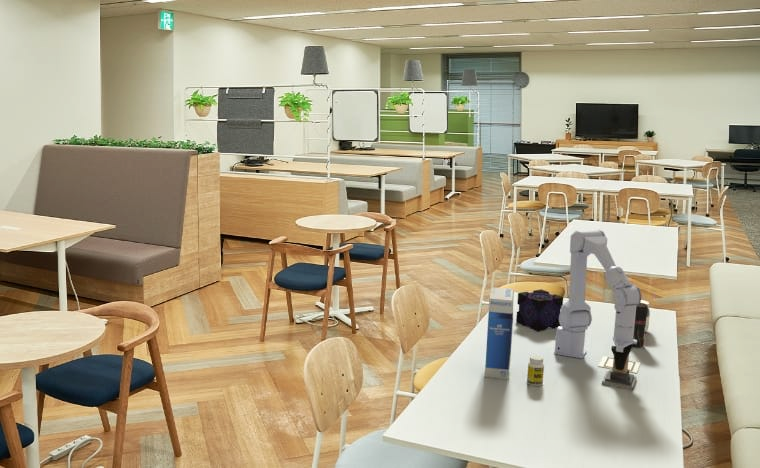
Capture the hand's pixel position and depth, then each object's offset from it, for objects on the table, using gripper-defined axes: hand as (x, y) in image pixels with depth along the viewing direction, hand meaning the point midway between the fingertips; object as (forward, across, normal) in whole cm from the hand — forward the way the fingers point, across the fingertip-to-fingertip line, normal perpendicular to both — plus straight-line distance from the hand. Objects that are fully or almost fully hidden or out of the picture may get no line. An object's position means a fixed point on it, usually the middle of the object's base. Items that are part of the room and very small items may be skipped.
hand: (620, 366), depth 223 cm
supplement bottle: (+5, -14, +23) cm, 27 cm away
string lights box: (+5, -10, +36) cm, 38 cm away
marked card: (+5, +15, +2) cm, 16 cm away
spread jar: (+5, +55, +3) cm, 55 cm away
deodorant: (+5, +38, 0) cm, 38 cm away
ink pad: (+5, 0, 0) cm, 5 cm away
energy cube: (+5, +43, +36) cm, 56 cm away
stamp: (+3, 0, 0) cm, 3 cm away
